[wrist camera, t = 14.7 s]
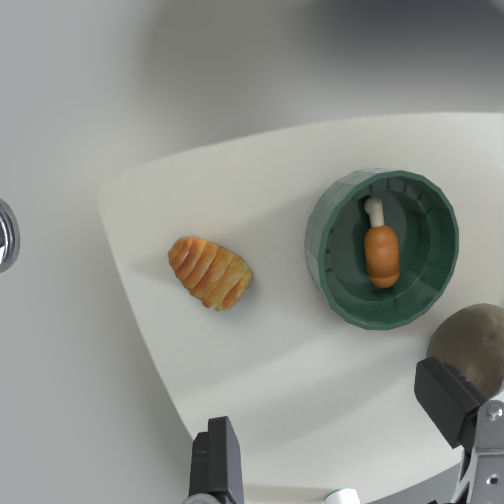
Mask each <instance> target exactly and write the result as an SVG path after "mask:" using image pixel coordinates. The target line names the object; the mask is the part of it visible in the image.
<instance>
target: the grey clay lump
mask: <svg viewBox="0 0 504 504" xmlns="http://www.w3.org/2000/svg"><path fill="white" fill-rule="evenodd" d="M431 356H435V357H436V358H437V359H438V360H439V361H440V362H441V363H442V364H443V363H446V362H447V363H449V364H451V365H453V366H456V367H457V368H458V369H459V370H460V371H461V372H462V373H463V375H465V376H466V377H467V378H468V380H469V381H471V382H472V383H473V384H474V385H475V386H476V387H477V388H478V390H479V391H480V392H481V393H482V394H483V395H484V396H485V397H486V398H487V399H488V400H490V399H492V398H494V397H495V396H497V395H498V394H500V393H501V392H502V391H503V390H504V309H503V308H501V307H498V306H495V305H491V304H476V305H472V306H469V307H467V308H464V309H462V310H460V311H458V312H457V313H455V314H453V315H452V316H450V317H449V318H448V319H446V320H445V321H444V322H443V323H442V324H441V325H440V327H439V328H438V329H437V330H436V332H435V333H434V335H433V337H432V339H431V341H430V344H429V346H428V350H427V355H426V359H427V358H429V357H431Z"/></svg>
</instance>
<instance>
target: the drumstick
mask: <svg viewBox="0 0 504 504" xmlns="http://www.w3.org/2000/svg"><path fill="white" fill-rule="evenodd" d="M364 209H365V211H366V213H367V214H369V216H370V223H371V228H370V229H369V230H368V231H367V232H366V234H365V237H364V248H365V257H366V266H367V274H368V278H369V280H370V282H371V283H372V284H373V285H374V286H376V287H378V288H388V287H391V286H392V285H394V284H395V283H396V281H397V280H398V278H399V275H400V263H399V249H398V239H397V235H396V233H395V232H394V230H393V229H392V228H391V227H389V226H387V225H384V217H383V204H382V201H381V200H380V199H379V198H377V197H369V198H368V199H366V201H365V203H364Z"/></svg>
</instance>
